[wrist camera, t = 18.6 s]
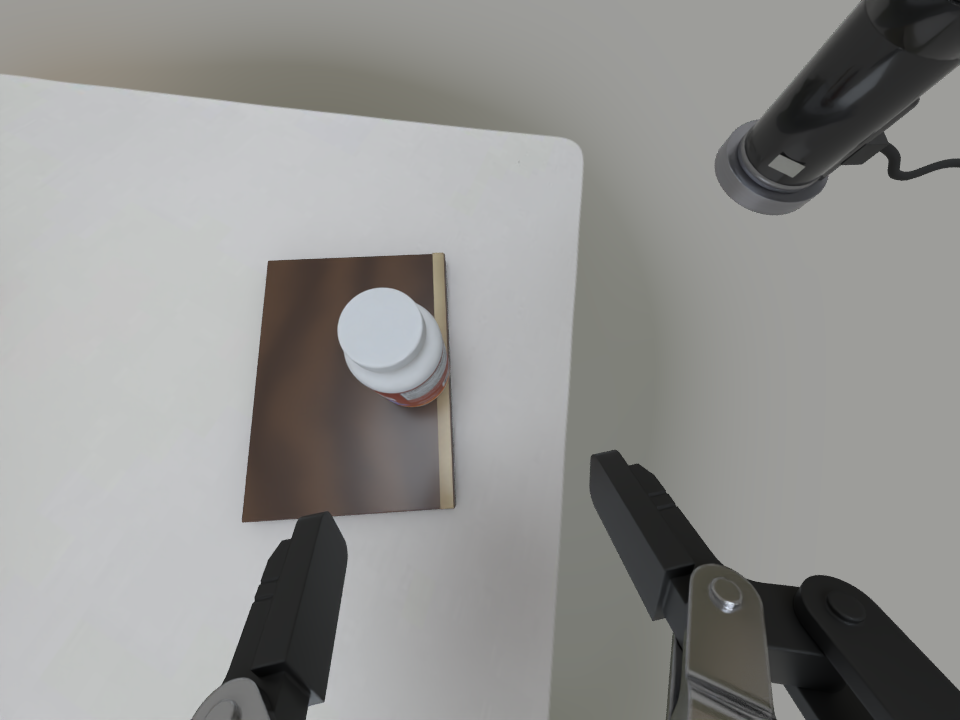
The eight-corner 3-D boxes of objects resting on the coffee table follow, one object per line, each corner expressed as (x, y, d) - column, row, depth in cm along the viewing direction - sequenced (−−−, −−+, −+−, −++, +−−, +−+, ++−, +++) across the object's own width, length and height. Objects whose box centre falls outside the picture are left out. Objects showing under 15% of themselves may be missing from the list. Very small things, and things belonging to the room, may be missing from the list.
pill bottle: (363, 362, 30) (301, 310, 20) (425, 323, 31) (398, 254, 21) (401, 423, 29) (356, 404, 18) (465, 381, 30) (458, 340, 19)
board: (445, 261, 35) (444, 252, 33) (455, 505, 29) (454, 508, 28) (276, 268, 34) (266, 259, 33) (252, 519, 28) (240, 523, 27)
